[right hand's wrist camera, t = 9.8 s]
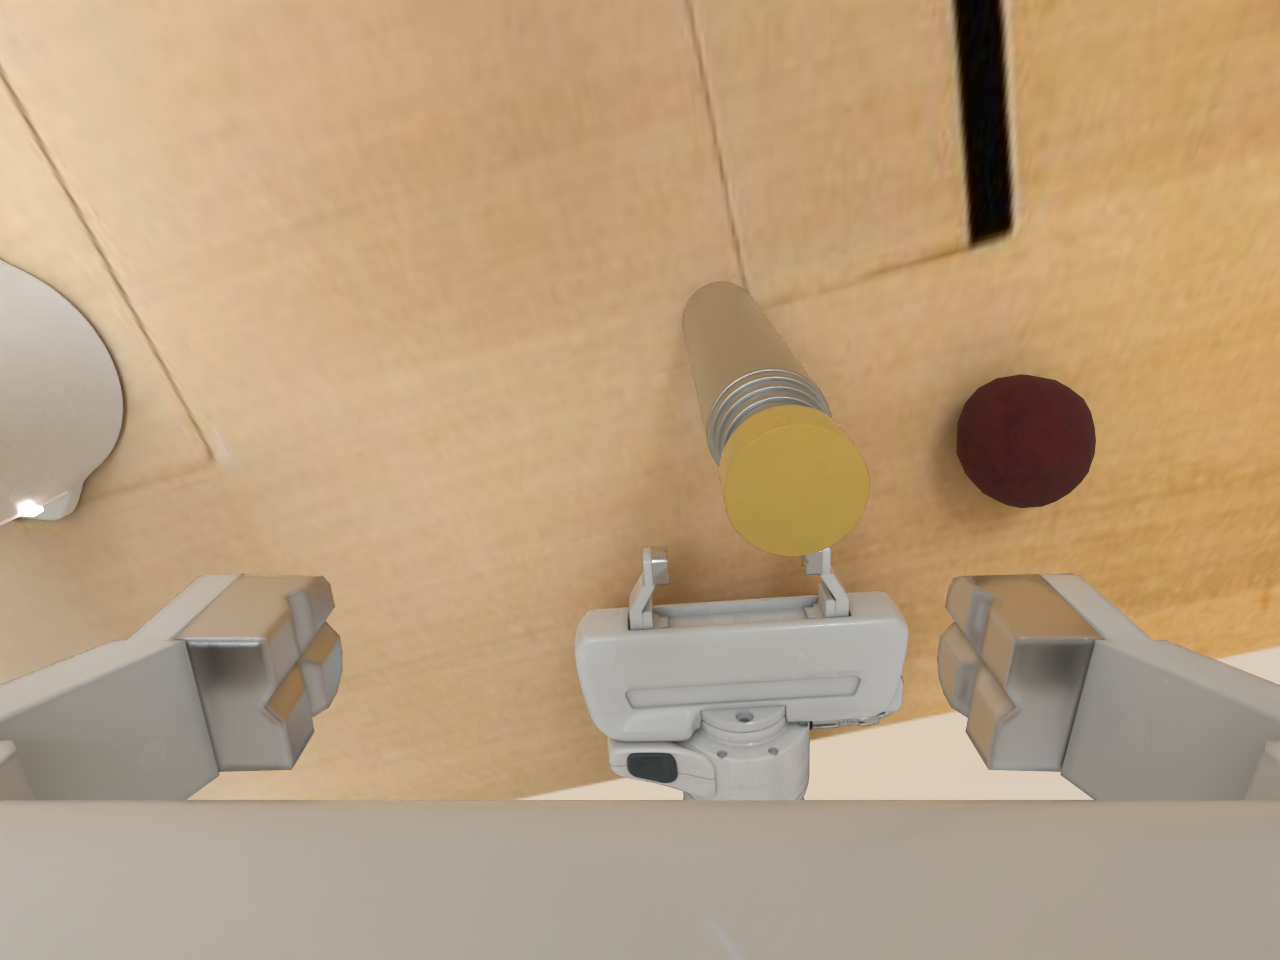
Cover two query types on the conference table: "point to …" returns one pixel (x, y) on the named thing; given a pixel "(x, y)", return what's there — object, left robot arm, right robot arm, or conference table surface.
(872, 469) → the conference table surface
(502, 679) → the conference table surface
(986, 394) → the potato
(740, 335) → the bottle
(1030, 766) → the right robot arm
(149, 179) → the conference table surface
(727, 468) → the cap
